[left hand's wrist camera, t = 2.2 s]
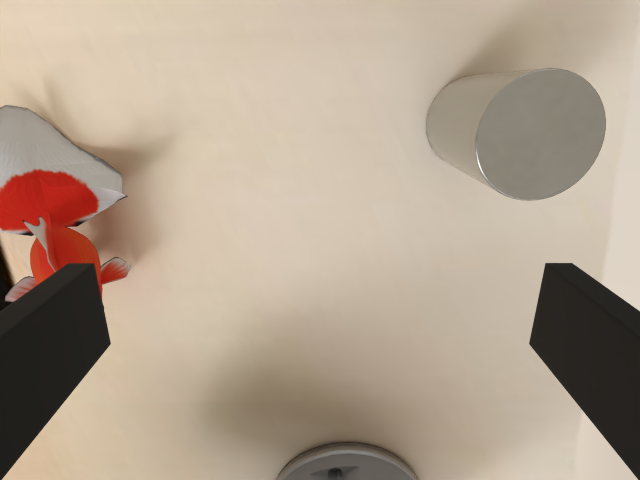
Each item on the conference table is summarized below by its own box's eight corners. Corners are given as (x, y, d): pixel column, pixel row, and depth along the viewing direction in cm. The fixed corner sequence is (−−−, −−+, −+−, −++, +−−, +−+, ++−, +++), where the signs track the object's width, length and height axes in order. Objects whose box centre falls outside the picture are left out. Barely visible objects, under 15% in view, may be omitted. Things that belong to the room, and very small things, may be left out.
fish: (-32, 331, 31) (-112, 354, 22) (-12, 125, 32) (-79, 64, 23) (128, 327, 35) (118, 345, 26) (139, 143, 36) (134, 98, 27)
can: (410, 105, 30) (454, 113, 21) (494, 56, 29) (582, 40, 19) (448, 182, 32) (504, 222, 22) (527, 138, 31) (623, 161, 21)
